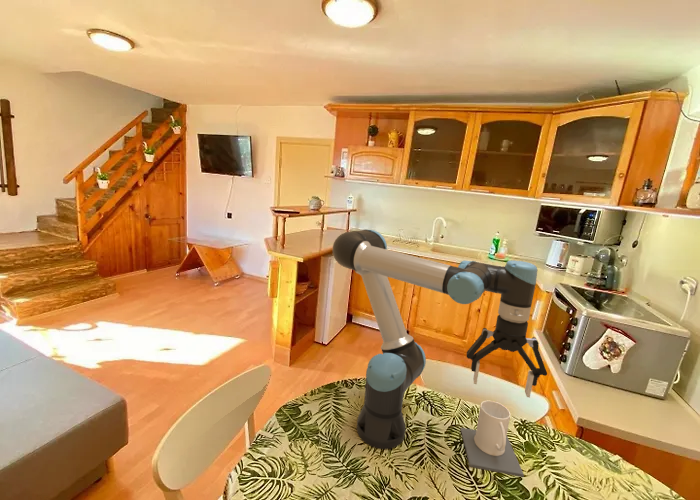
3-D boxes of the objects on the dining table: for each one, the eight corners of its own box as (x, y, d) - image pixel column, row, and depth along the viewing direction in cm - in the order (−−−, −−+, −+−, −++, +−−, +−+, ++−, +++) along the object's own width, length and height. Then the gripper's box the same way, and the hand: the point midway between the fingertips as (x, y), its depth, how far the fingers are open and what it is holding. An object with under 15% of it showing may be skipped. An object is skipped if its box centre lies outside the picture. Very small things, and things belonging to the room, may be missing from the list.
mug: (513, 468, 86) (521, 430, 83) (481, 463, 87) (488, 425, 84) (498, 435, 97) (504, 401, 95) (470, 431, 98) (476, 397, 96)
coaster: (469, 466, 86) (470, 464, 86) (460, 429, 100) (460, 427, 100) (523, 477, 84) (523, 474, 84) (506, 437, 98) (506, 435, 97)
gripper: (464, 313, 85) (454, 383, 89) (570, 333, 77) (554, 408, 81) (464, 305, 92) (454, 370, 96) (561, 321, 84) (547, 392, 88)
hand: (500, 387), depth 88 cm, fingers open, 13 cm apart
